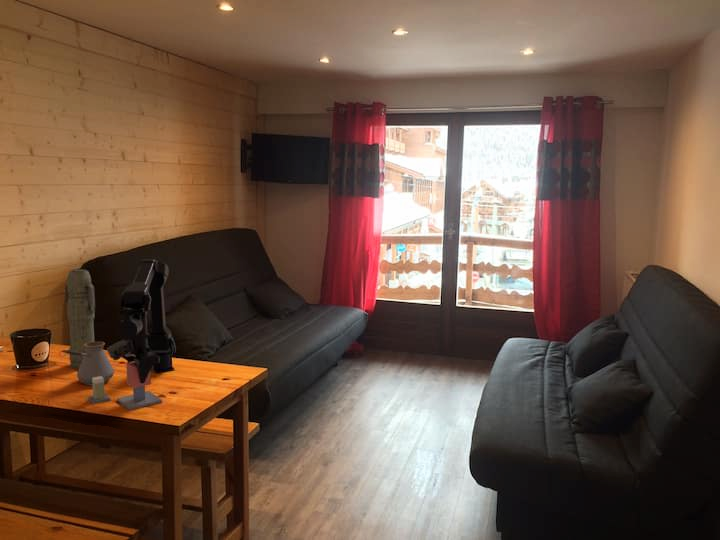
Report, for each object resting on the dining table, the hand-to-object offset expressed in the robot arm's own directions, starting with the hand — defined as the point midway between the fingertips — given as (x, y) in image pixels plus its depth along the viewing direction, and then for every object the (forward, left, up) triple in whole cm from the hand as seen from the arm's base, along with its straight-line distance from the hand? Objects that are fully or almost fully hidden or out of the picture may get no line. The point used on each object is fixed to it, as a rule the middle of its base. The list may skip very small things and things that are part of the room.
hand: (138, 380), depth 178 cm
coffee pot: (+8, -24, -7) cm, 26 cm away
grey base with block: (+9, -9, -7) cm, 14 cm away
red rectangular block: (0, 0, -1) cm, 1 cm away
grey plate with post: (0, 0, -7) cm, 7 cm away
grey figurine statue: (+2, -47, -7) cm, 47 cm away
